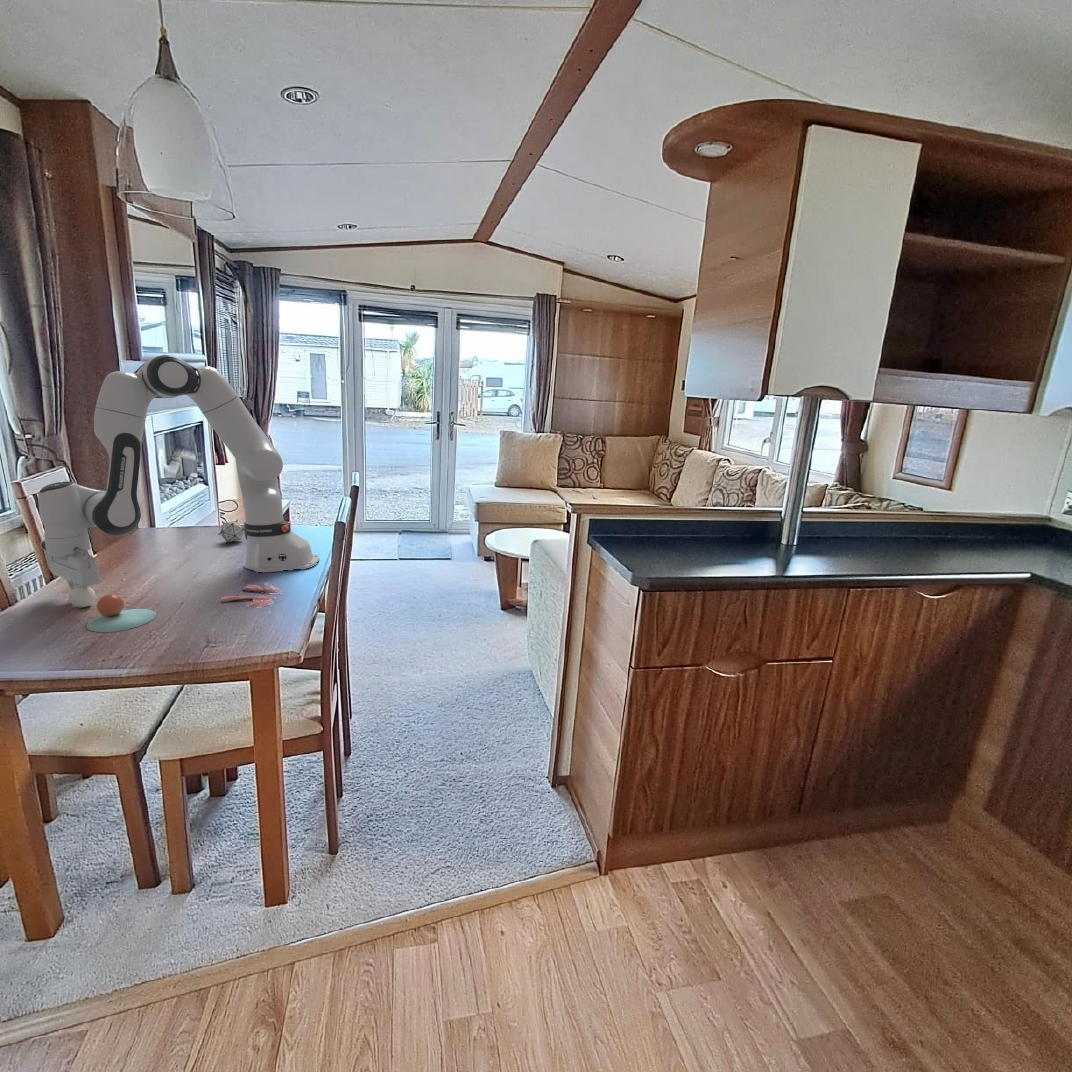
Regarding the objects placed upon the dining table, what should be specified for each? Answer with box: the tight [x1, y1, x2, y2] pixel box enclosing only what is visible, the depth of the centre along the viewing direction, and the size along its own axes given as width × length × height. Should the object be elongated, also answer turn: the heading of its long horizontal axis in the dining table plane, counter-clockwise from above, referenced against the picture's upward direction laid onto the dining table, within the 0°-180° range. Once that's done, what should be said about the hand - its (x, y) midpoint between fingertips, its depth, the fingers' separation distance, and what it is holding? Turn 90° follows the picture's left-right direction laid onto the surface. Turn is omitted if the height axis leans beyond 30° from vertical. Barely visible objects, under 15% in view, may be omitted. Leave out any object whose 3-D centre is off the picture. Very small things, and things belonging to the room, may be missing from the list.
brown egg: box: [96, 593, 125, 617], centre depth 143 cm, size 6×6×6 cm
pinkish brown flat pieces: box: [220, 582, 283, 608], centre depth 160 cm, size 20×22×2 cm
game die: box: [217, 519, 244, 545], centre depth 209 cm, size 9×8×10 cm
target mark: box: [86, 608, 157, 633], centre depth 141 cm, size 14×14×1 cm
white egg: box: [68, 586, 97, 608], centre depth 148 cm, size 6×6×6 cm
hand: (78, 595), depth 152 cm, fingers closed
